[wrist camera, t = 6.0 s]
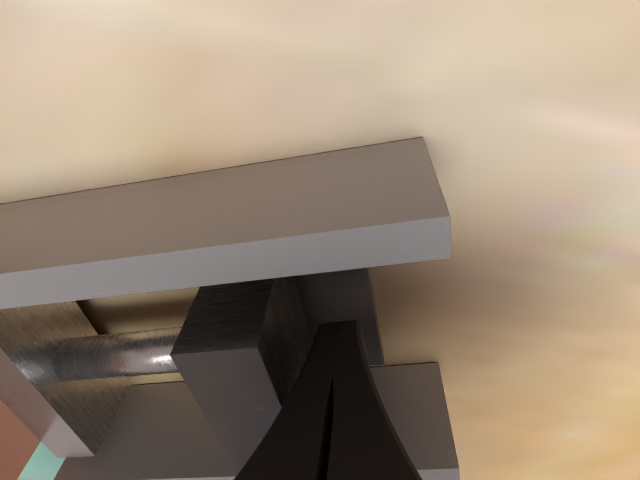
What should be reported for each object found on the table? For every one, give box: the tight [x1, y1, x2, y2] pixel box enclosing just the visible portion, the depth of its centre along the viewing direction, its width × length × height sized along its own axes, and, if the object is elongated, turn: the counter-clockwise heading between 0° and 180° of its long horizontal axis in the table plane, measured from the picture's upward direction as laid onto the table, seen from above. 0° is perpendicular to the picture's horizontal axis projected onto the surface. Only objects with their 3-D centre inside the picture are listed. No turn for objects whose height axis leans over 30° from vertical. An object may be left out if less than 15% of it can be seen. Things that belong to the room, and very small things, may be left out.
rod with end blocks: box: [0, 276, 313, 474], centre depth 13 cm, size 7×10×4 cm
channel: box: [0, 137, 460, 480], centre depth 14 cm, size 10×14×4 cm
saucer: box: [17, 442, 65, 480], centre depth 22 cm, size 8×8×1 cm
